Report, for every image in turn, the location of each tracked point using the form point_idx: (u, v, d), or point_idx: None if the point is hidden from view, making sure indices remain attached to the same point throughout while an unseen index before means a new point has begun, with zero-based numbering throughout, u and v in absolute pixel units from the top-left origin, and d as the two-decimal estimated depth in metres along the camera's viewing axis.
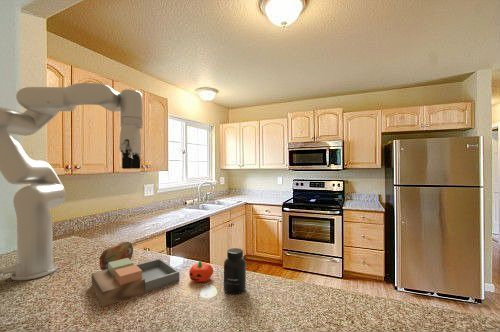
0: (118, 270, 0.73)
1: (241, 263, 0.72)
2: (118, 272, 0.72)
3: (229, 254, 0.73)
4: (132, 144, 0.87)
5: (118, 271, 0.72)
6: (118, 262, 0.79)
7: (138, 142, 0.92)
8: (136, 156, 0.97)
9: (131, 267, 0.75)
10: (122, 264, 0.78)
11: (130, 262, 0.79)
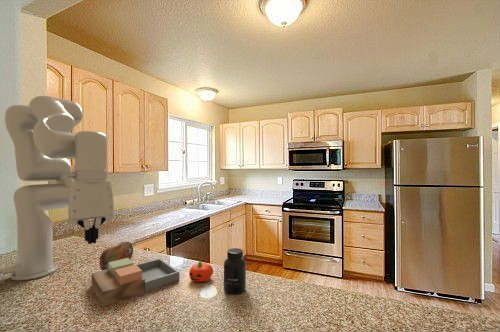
0: (118, 270, 0.73)
1: (241, 263, 0.72)
2: (118, 272, 0.72)
3: (229, 254, 0.73)
4: None
5: (118, 271, 0.72)
6: (118, 262, 0.79)
7: None
8: None
9: (131, 267, 0.75)
10: (122, 264, 0.78)
11: (130, 262, 0.79)
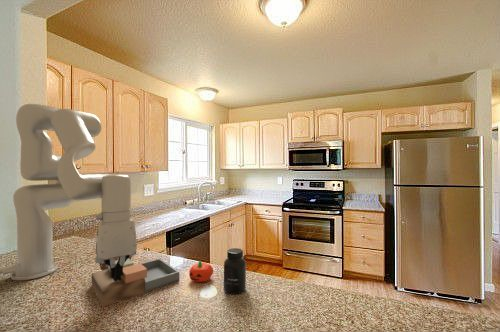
0: (123, 269, 0.74)
1: (241, 263, 0.72)
2: (123, 271, 0.73)
3: (229, 254, 0.73)
4: None
5: (123, 270, 0.73)
6: None
7: None
8: None
9: (136, 266, 0.76)
10: None
11: (130, 262, 0.79)
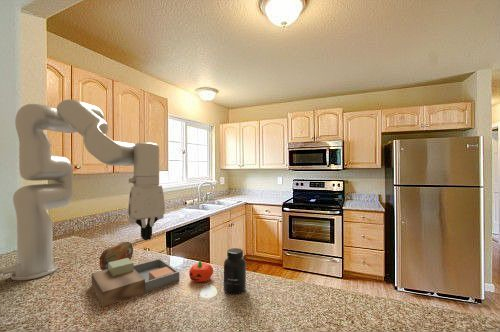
0: None
1: (241, 263, 0.72)
2: None
3: (229, 254, 0.73)
4: None
5: None
6: (118, 262, 0.79)
7: None
8: None
9: None
10: (122, 264, 0.78)
11: (130, 262, 0.79)
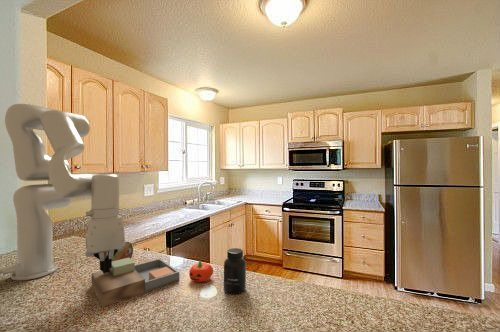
0: None
1: (241, 263, 0.72)
2: None
3: (229, 254, 0.73)
4: None
5: None
6: (119, 262, 0.80)
7: None
8: None
9: None
10: (123, 264, 0.78)
11: (131, 262, 0.80)
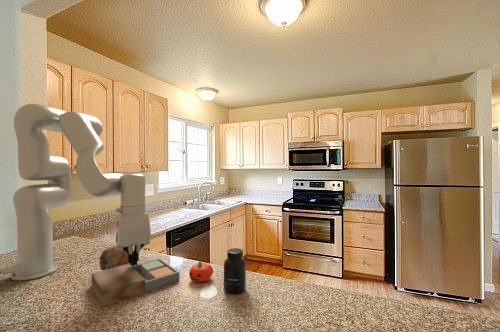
0: None
1: (241, 263, 0.72)
2: None
3: (229, 254, 0.73)
4: None
5: None
6: None
7: None
8: None
9: None
10: None
11: None
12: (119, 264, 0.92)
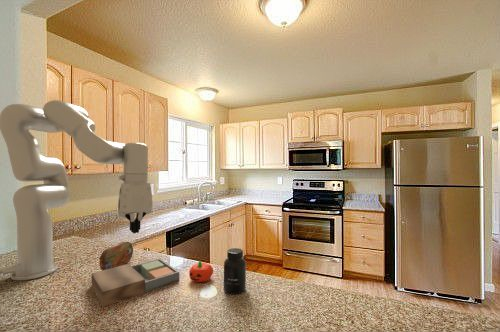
0: None
1: (241, 263, 0.72)
2: None
3: (229, 254, 0.73)
4: None
5: None
6: None
7: None
8: None
9: None
10: None
11: None
12: (119, 264, 0.92)
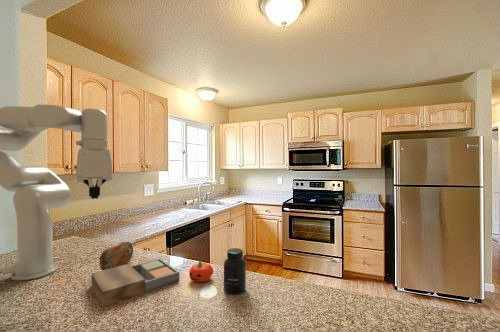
0: None
1: (241, 263, 0.72)
2: None
3: (229, 254, 0.73)
4: None
5: None
6: None
7: None
8: None
9: None
10: None
11: None
12: (119, 264, 0.92)
